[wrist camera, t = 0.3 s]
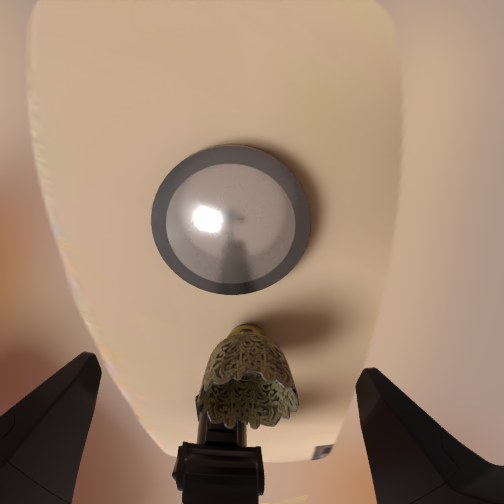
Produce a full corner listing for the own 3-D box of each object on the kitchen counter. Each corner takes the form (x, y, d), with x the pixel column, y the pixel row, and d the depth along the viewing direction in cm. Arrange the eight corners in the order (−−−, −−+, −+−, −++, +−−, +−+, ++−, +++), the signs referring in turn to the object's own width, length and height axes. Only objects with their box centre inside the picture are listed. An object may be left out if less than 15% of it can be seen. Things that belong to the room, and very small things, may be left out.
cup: (296, 309, 24) (313, 383, 17) (277, 364, 28) (285, 431, 20) (209, 299, 23) (198, 375, 16) (204, 357, 27) (196, 426, 20)
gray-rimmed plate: (295, 289, 23) (297, 298, 22) (160, 281, 23) (156, 290, 21) (318, 152, 18) (322, 155, 17) (155, 142, 17) (149, 144, 16)
